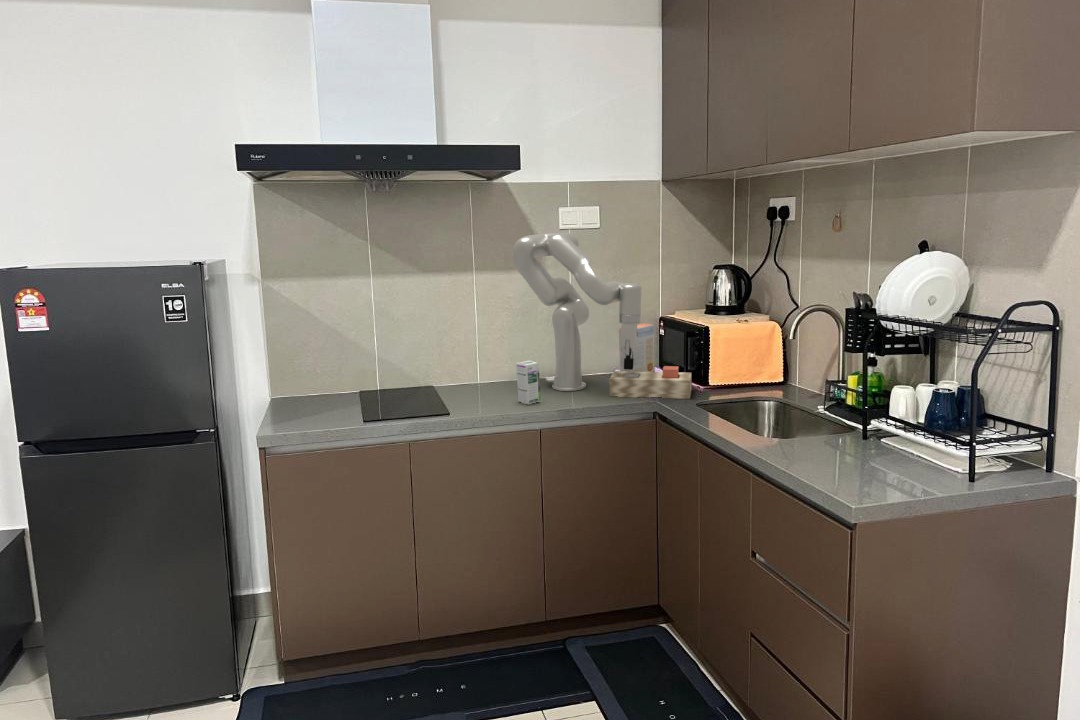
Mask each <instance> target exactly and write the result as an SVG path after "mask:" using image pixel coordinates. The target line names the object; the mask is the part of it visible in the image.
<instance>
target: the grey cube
mask: <svg viewBox="0 0 1080 720" xmlns="http://www.w3.org/2000/svg"><path fill="white" fill-rule="evenodd" d="M623 377H634V378H639V374H624V376H623Z"/></svg>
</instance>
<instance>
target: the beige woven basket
mask: <svg viewBox="0 0 1080 720" xmlns="http://www.w3.org/2000/svg"><path fill="white" fill-rule="evenodd" d="M624 374H639V378H634V377H623V376H624ZM691 395H692V372H685V371H684V372H683V371H682V372H679V378H663V371H655V372H628V371H617V370H614V371H613V372H612V374H611V376H610V377H609V397H610V396H618V397H617V398H637V397H649V398H648V399H651V398H650V397H662V398H661V399H681V400H682V399H685V400H688V399H689V400H690V399H691Z"/></svg>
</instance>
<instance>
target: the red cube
mask: <svg viewBox="0 0 1080 720" xmlns="http://www.w3.org/2000/svg"><path fill="white" fill-rule="evenodd" d="M679 368H680V367H679V366H677V365H675V366H672V365H670V366H669V365H664V366H663V367H662V372H663V378H679Z"/></svg>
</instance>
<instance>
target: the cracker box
mask: <svg viewBox="0 0 1080 720" xmlns="http://www.w3.org/2000/svg"><path fill="white" fill-rule="evenodd" d="M618 339H619V340H618V341H619V342H618V343H619V345H618V346H619V349H620V340H621V328H619V329H618ZM624 351H625V348H624V349H623V350H622V351H620V350H619V370H620V371H628V372H656V368H655V367H656V365H655V364H656V363H655V362H656V361H655V359H656V358H655V325H654V324H650V323H640V324H637V340H636V347H635V349H634V351H633V358H634V359H633V369H632V370H628V369H624Z"/></svg>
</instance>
